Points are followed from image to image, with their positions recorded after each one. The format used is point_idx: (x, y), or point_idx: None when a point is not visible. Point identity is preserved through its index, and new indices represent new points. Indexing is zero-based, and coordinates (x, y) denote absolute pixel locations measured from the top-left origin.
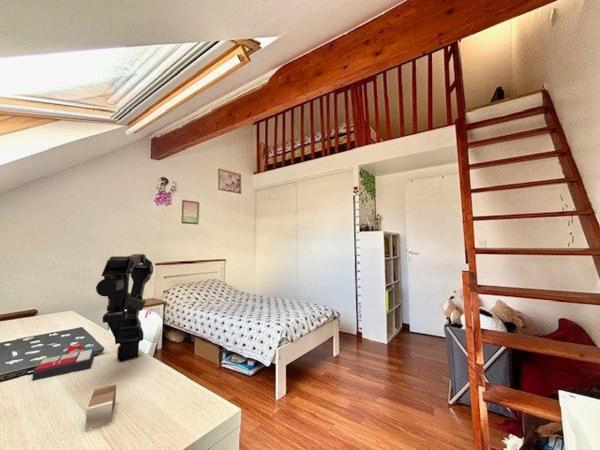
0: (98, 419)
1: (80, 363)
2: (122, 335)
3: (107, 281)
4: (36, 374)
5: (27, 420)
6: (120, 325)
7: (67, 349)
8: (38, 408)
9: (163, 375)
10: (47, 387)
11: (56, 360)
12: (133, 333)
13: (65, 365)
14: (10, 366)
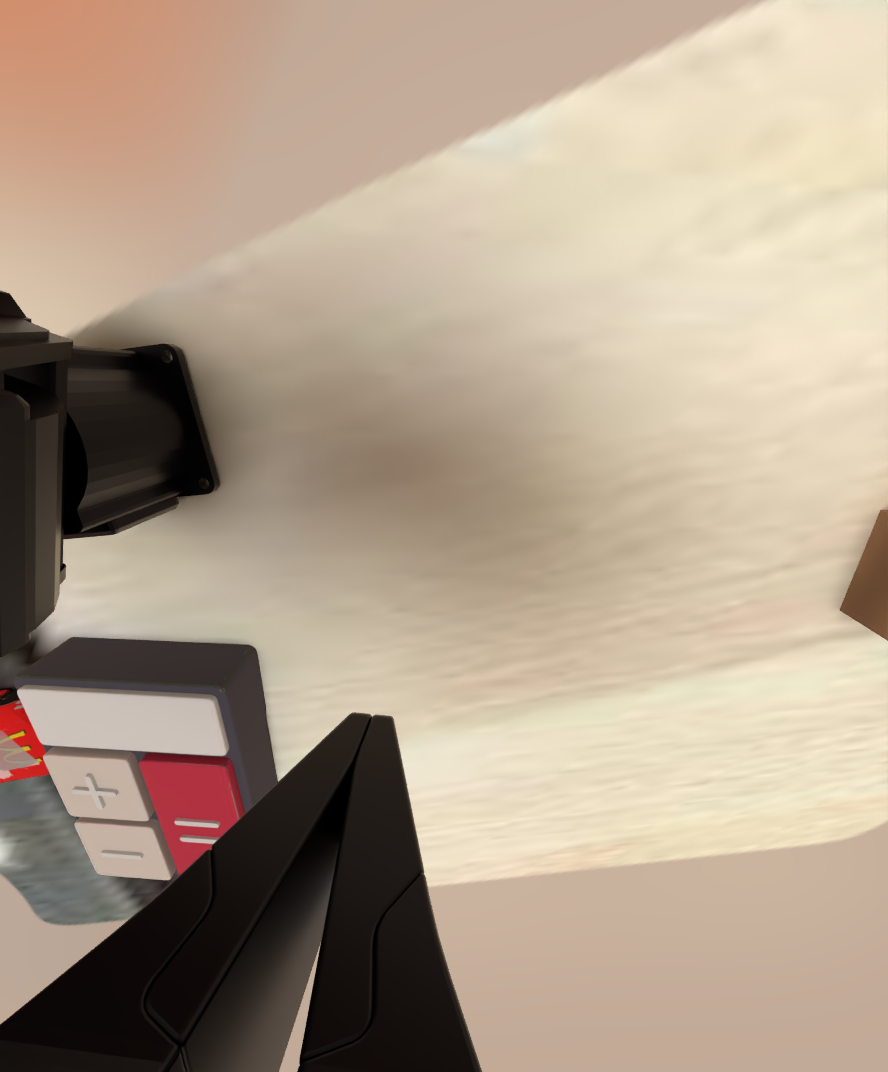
0: None
1: (241, 723)
2: (34, 569)
3: None
4: None
5: (716, 810)
6: (282, 864)
7: None
8: (628, 793)
9: (723, 143)
10: (409, 788)
11: (154, 831)
12: (19, 432)
13: (249, 787)
14: (64, 915)
